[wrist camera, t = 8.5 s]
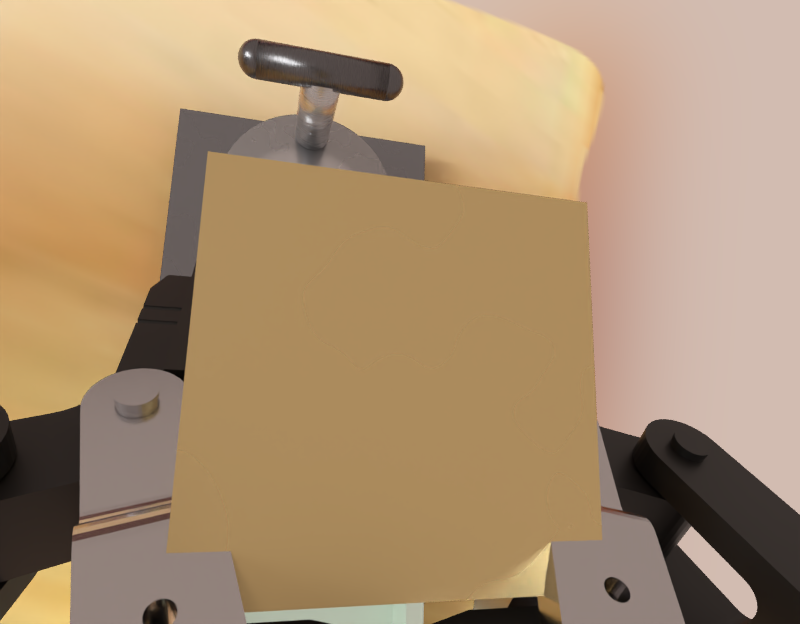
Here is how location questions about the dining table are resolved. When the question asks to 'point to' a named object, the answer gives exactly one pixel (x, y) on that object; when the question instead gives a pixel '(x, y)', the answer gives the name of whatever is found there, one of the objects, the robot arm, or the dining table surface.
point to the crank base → (221, 142)
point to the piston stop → (384, 387)
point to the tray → (347, 614)
